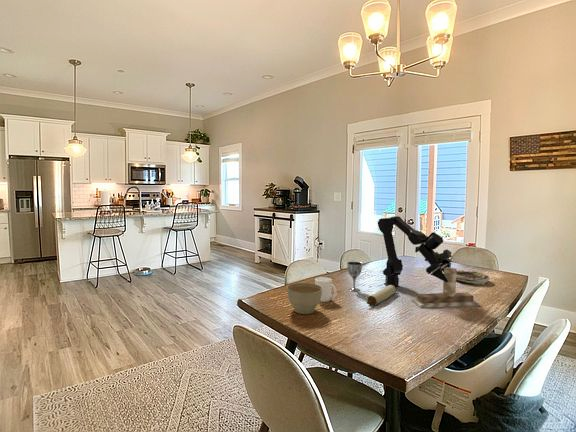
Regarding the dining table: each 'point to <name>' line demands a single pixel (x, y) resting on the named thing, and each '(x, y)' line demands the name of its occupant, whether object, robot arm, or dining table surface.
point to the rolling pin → (381, 295)
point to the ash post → (450, 281)
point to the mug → (326, 288)
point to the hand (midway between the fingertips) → (450, 280)
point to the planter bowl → (304, 297)
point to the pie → (471, 277)
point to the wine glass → (354, 273)
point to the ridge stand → (444, 300)
